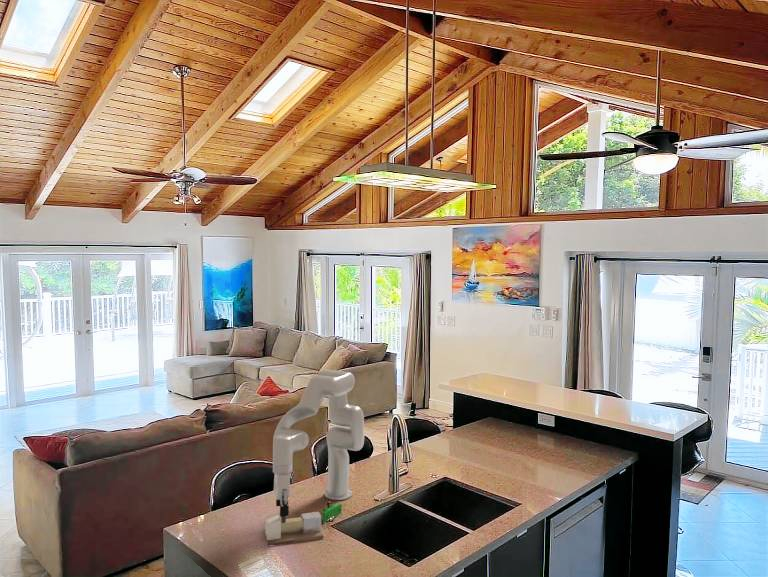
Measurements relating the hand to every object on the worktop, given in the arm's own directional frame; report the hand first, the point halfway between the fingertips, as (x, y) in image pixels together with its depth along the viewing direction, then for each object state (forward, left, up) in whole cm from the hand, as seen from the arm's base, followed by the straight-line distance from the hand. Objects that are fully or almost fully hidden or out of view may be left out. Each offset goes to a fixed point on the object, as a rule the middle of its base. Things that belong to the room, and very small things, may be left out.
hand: (282, 510), depth 224 cm
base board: (0, +4, -10) cm, 11 cm away
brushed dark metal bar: (0, +3, -7) cm, 8 cm away
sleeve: (0, +11, -9) cm, 15 cm away
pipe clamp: (-11, +22, -11) cm, 27 cm away
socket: (0, -3, -9) cm, 10 cm away
